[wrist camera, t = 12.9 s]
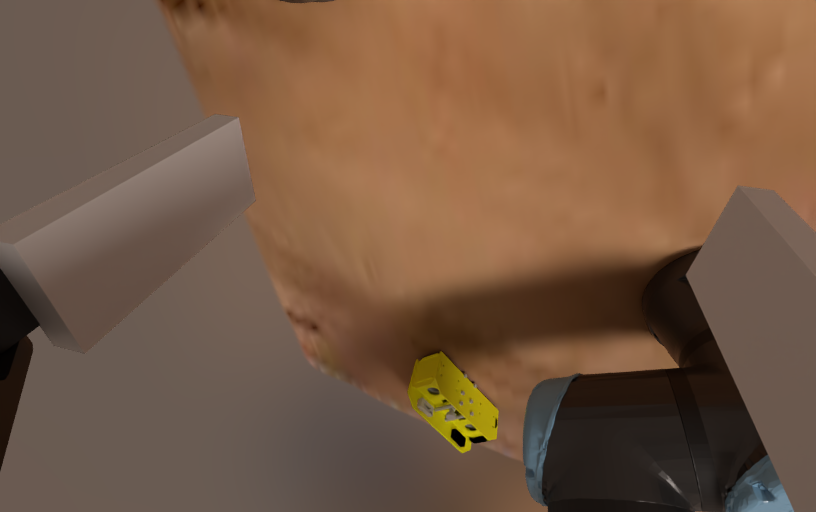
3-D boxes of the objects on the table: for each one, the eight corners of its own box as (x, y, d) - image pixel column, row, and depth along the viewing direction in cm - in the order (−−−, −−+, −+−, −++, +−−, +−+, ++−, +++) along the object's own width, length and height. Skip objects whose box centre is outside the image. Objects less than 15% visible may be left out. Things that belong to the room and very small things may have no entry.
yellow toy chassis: (414, 355, 66) (402, 401, 59) (443, 346, 63) (433, 393, 56) (471, 412, 71) (465, 459, 65) (500, 406, 68) (497, 454, 62)
